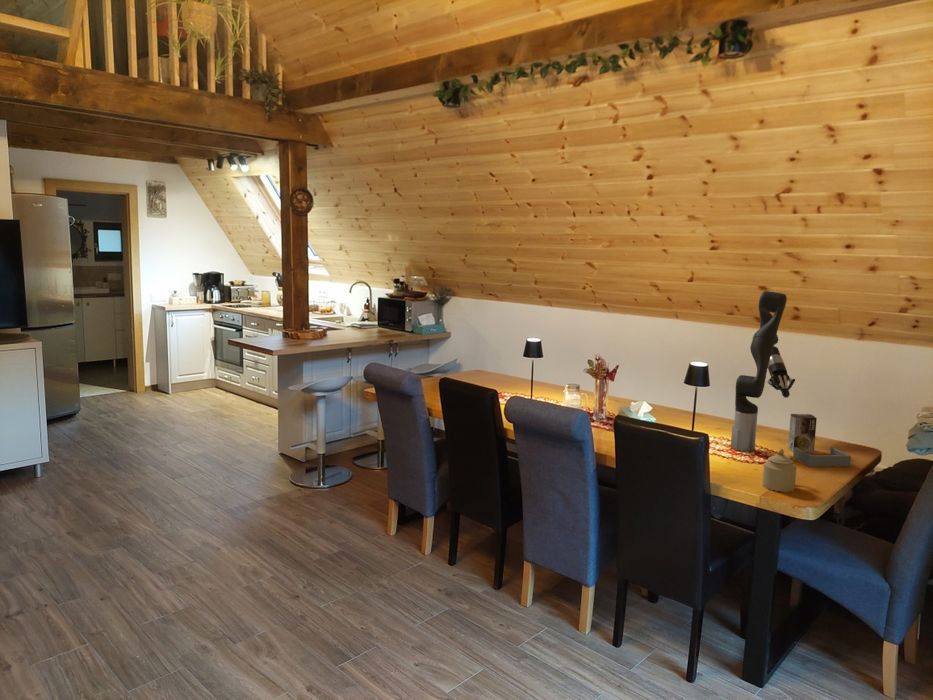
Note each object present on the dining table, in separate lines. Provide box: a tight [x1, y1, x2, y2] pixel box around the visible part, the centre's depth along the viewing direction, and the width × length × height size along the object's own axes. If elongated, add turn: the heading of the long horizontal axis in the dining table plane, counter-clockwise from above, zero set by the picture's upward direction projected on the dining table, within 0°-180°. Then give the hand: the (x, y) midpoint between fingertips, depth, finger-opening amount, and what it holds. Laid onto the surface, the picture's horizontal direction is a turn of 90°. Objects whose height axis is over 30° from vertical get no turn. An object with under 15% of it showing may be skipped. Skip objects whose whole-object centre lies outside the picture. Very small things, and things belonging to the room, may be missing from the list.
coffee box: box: [787, 413, 818, 454], centre depth 295 cm, size 9×6×16 cm
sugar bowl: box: [762, 448, 797, 493], centre depth 250 cm, size 15×11×15 cm
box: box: [792, 447, 852, 467], centre depth 280 cm, size 17×12×4 cm
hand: (786, 396), depth 308 cm, fingers closed
